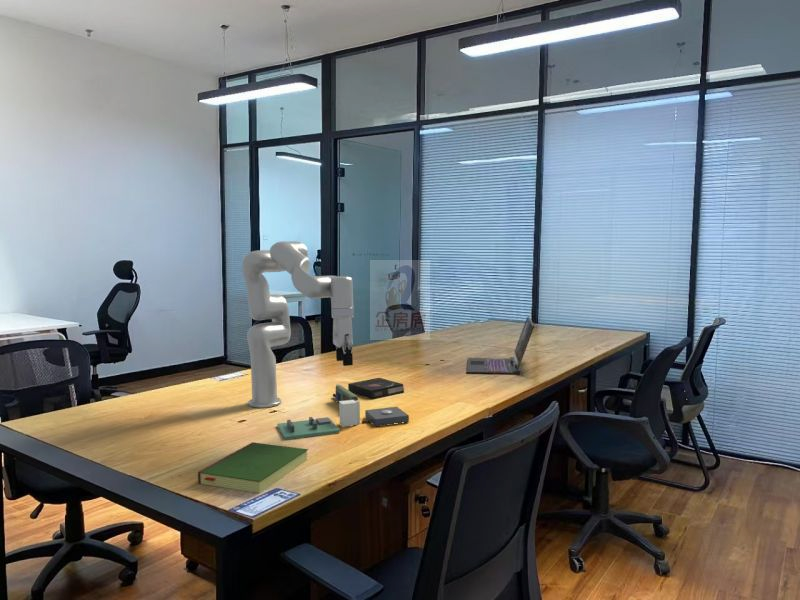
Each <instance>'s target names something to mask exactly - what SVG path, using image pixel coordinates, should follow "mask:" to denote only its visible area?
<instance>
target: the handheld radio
mask: <svg viewBox="0 0 800 600" xmlns="http://www.w3.org/2000/svg"><path fill="white" fill-rule="evenodd" d="M332 397H333V398H334V399H335V402H336V403H337V404H339V401H346V400H354V401H357V400H359V397H358V395H357V394H354V393H352V392H350V391H349V390H348V389H347V388H346V387H345V386H342V385H341V384H335V393H333V394H332Z"/></svg>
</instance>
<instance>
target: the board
mask: <svg viewBox="0 0 800 600" xmlns="http://www.w3.org/2000/svg"><path fill="white" fill-rule="evenodd" d="M277 429H278V430H279V432H280V433H281V435H282V438H283V439H284V441H288V440H293V439H294V440H295V439H302V438H304V439H305V438H310V437H311V438H312V437H317V436H327V435H333V434H334V433H335V434H340V433H341V430H340V428H339V427H338V426H337V425H336V424H335V423H334V421H333V420H331V418H329V417H327V416H325V417H318V418H313V416H309V417H308V419H305V420H299V421H298V420H297V421H296V420H295V421H292V420H291V419H287V420H286V422H281V423H280V422H279V423H277ZM335 434H334V435H335Z"/></svg>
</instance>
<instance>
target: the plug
mask: <svg viewBox="0 0 800 600" xmlns="http://www.w3.org/2000/svg"><path fill="white" fill-rule="evenodd" d="M360 402H361V401H360V400H359V399H358V400H357V401H354V400H346V401H339V403H338V405H339V406H338V407H339V410H338V411H339V425H340V424H341V425H342V426H343V427H342V426H341V425H340V426H341V427H342V428H345V427H344V426H349V427H352V426H351V425H357V426H358V425H360V424H361V409H360V408H361V405H360ZM359 423H360V424H359Z"/></svg>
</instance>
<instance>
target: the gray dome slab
mask: <svg viewBox="0 0 800 600" xmlns="http://www.w3.org/2000/svg"><path fill="white" fill-rule="evenodd" d="M364 411H365V412H364V413H365V418H366V419H365V420H364V419H363V420H361V423H362V424H364V422H367V423H371V422H372V423H373V424H374V425H375V427H376V426H379V427H381V426H380V425H386V426H388V425H387V424H394V423H402V422H410V415H409V414H408V413H406V412H405V411H404V410H402V409H401V408H400V407H398V406H389V407H382V408H374V409H365V410H364ZM370 421H371V422H370ZM372 423H371V424H372ZM373 424H372V425H373ZM402 424H403V423H402ZM374 425H373V426H374ZM394 425H395V424H394Z"/></svg>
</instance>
